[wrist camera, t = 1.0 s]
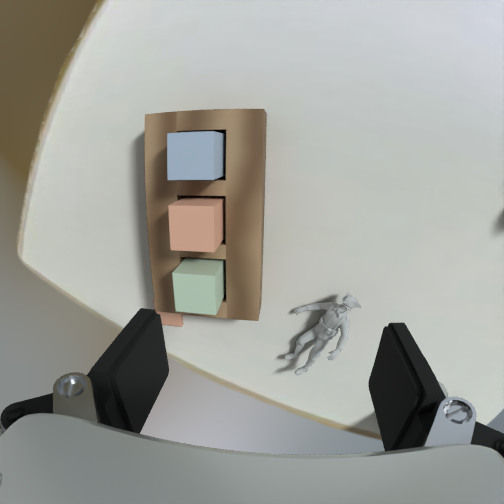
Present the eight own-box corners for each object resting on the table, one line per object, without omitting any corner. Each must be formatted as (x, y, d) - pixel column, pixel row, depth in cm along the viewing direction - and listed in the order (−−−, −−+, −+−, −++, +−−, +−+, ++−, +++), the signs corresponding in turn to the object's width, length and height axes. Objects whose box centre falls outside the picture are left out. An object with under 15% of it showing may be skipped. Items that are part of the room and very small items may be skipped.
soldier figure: (270, 340, 40) (308, 279, 33) (297, 329, 43) (337, 271, 36) (302, 386, 36) (353, 334, 29) (328, 372, 39) (379, 319, 31)
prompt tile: (180, 300, 39) (179, 302, 38) (183, 324, 40) (181, 326, 39) (155, 297, 39) (153, 299, 38) (158, 321, 40) (156, 323, 40)
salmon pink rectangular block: (225, 196, 32) (213, 206, 27) (225, 236, 33) (214, 252, 28) (186, 196, 32) (168, 205, 27) (187, 234, 34) (170, 250, 28)
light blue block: (226, 134, 30) (213, 131, 25) (225, 174, 31) (213, 179, 26) (186, 135, 30) (167, 133, 25) (186, 174, 31) (167, 180, 26)
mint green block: (225, 256, 34) (214, 276, 29) (226, 291, 35) (216, 315, 30) (188, 254, 34) (172, 272, 29) (190, 288, 36) (175, 311, 30)
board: (266, 113, 30) (263, 108, 27) (261, 303, 37) (258, 320, 34) (159, 117, 32) (144, 114, 28) (167, 296, 39) (156, 311, 35)
